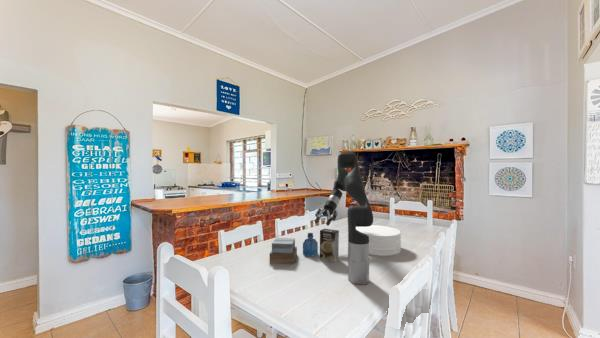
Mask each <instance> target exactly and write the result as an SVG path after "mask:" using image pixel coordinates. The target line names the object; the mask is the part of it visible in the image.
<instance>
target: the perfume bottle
mask: <svg viewBox="0 0 600 338" xmlns="http://www.w3.org/2000/svg"><path fill="white" fill-rule="evenodd" d="M306 237H307V238H305V239H304V241H303V243H302V255H304V256H309V257H313V256H316V255H318V253H319V245H318V241H317V240H316V239H315V238H314V233H313V232H308V233H307V236H306Z"/></svg>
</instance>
